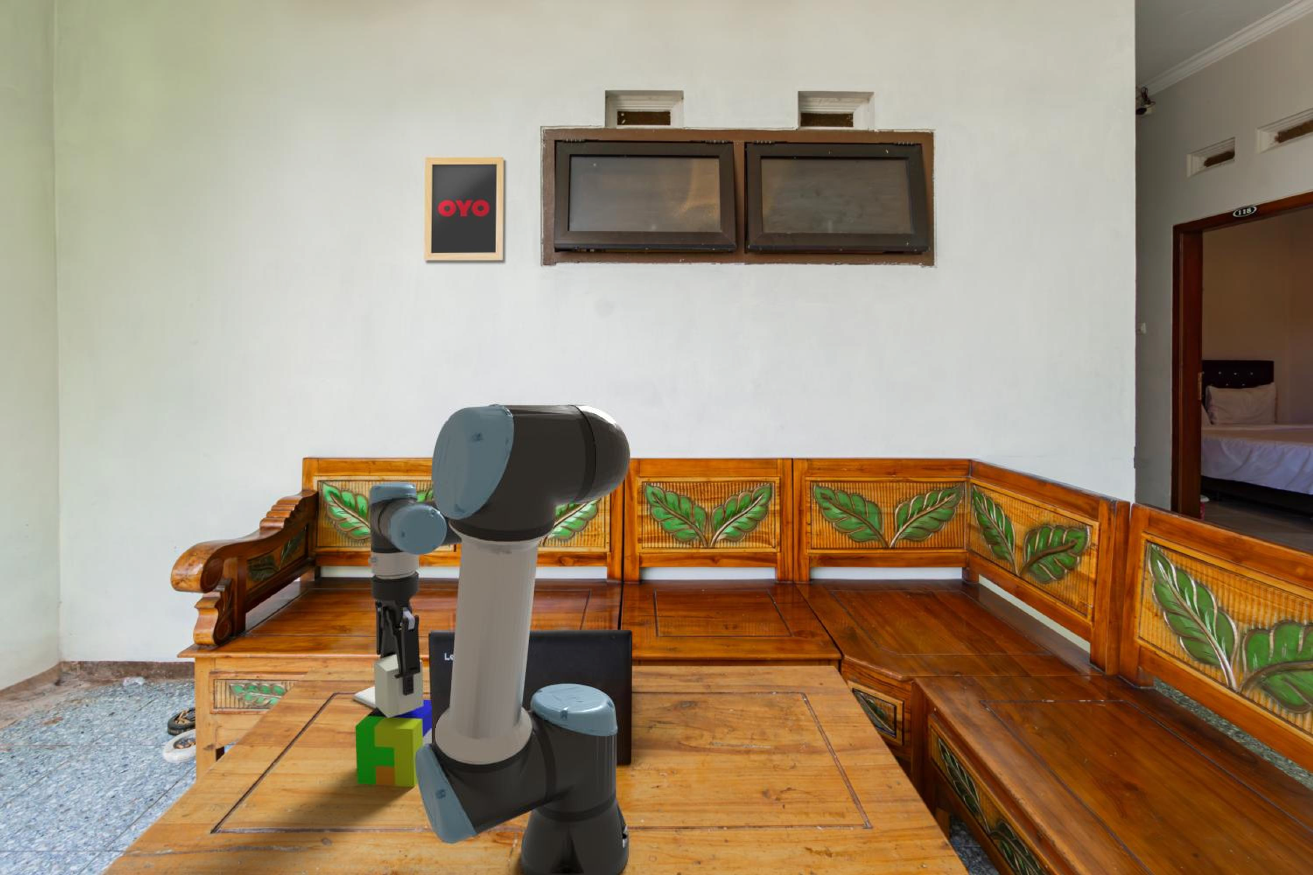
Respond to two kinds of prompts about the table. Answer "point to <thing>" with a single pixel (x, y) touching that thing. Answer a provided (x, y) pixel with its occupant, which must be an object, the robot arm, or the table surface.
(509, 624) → the robot arm
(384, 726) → the puzzle toy
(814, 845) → the table surface
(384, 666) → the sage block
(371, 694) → the external hard drive
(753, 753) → the table surface
